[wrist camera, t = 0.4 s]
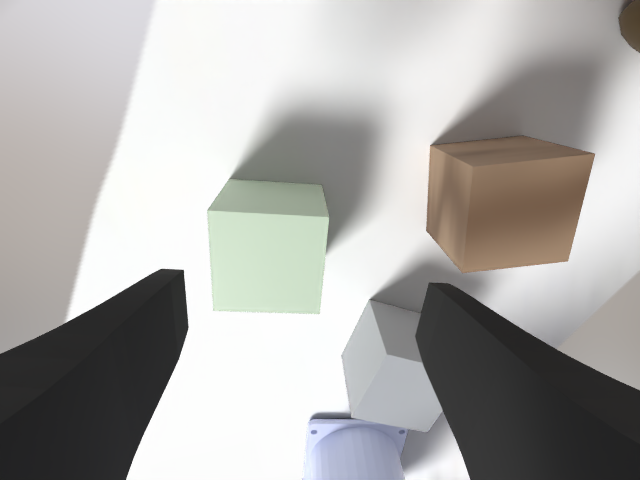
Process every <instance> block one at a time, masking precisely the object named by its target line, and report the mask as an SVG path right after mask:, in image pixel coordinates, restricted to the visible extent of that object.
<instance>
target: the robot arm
mask: <svg viewBox="0 0 640 480" xmlns="http://www.w3.org/2000/svg"><path fill="white" fill-rule="evenodd" d="M187 331H188V317H187V305H186V293H185V281H184V270H174V269H160V270H158V271H156V272H154V273H152V274H151V275H149V276H147V277H145V278H144V279H142V280H140V281H139V282H137V283H135V284H134V285H132V286H130V287H129V288H127V289H125V290H124V291H122V292H120V293H119V294H117V295H115V296H113V297H112V298H110V299H108V300H107V301H105V302H103V303H102V304H100V305H98V306H96V307H94V308H93V309H91V310H89V311H87V312H85V313H83V314H81V315H80V316H78V317H76V318H74V319H72V320H70V321H68V322H67V323H65V324H63V325H61V326H59V327H57V328H56V329H53V330H51V331H49V332H47V333H45V334H43V335H41V336H39V337H37V338H35V339H33V340H30V341H28V342H26V343H24V344H22V345H19V346H17V347H15V348H13V349H10V350H8V351H6V352H4V353H1V354H0V480H126V478H127V475H128V472H129V469H130V466H131V464H132V461H133V458H134V456H135V453H136V451H137V448H138V446H139V444H140V441H141V439H142V437H143V435H144V432H145V430H146V428H147V426H148V424H149V422H150V420H151V418H152V415H153V413H154V411H155V409H156V407H157V405H158V403H159V401H160V398H161V396H162V394H163V392H164V390H165V388H166V386H167V384H168V381H169V379H170V377H171V375H172V373H173V371H174V369H175V366H176V364H177V362H178V360H179V357H180V354H181V351H182V348H183V344H184V341H185V338H186V335H187ZM415 338H416V342H417V346H418V349H419V353H420V356H421V360H422V363H423V366H424V369H425V371H426V373H427V376H428V378H429V380H430V383H431V385H432V387H433V389H434V392H435V394H436V396H437V398H438V401H439V403H440V405H441V407H442V410H443V412H444V414H445V416H446V419H447V421H448V423H449V425H450V428H451V430H452V432H453V434H454V436H455V439H456V441H457V444H458V446H459V449H460V451H461V454H462V456H463V459H464V462H465V465H466V468H467V471H468V474H469V477H470V480H640V390H637V389H635V388H633V387H631V386H629V385H626V384H624V383H622V382H620V381H617V380H615V379H613V378H611V377H609V376H607V375H605V374H603V373H601V372H599V371H596V370H595V369H593V368H591V367H589V366H587V365H585V364H583V363H581V362H579V361H577V360H575V359H573V358H571V357H569V356H567V355H566V354H563V353H562V352H560V351H558V350H557V349H555V348H553V347H551V346H550V345H548V344H546V343H544V342H543V341H541V340H539V339H538V338H536V337H534V336H532V335H531V334H529V333H527V332H526V331H524V330H523V329H521V328H519V327H518V326H516V325H514V324H513V323H511V322H510V321H508V320H507V319H505V318H503V317H502V316H500V315H499V314H497V313H496V312H494V311H493V310H491V309H490V308H488V307H487V306H485V305H483V304H482V303H480V302H479V301H477V300H476V299H474V298H473V297H471V296H470V295H468V294H466V293H465V292H463V291H461V290H460V289H458V288H456V287H455V286H453V285H451V284H448V283H429V285H428V289H427V293H426V297H425V300H424V304H423V308H422V312H421V315H420V319H419V323H418V327H417V331H416V334H415ZM407 433H408V429H406V428H401V427H396V426H391V425H386V424H380V423H375V422H370V421H365V420H360V419H313V420H310V421H309V422H308V428H307V438H306V448H305V458H304V468H303V478H302V480H405V477H404V473H403V469H402V466H401V462H400V457H401V454H402V450H403V447H404V443H405V440H406V436H407Z"/></svg>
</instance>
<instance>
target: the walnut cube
mask: <svg viewBox="0 0 640 480" xmlns="http://www.w3.org/2000/svg"><path fill="white" fill-rule="evenodd" d="M594 157H595V154H594V153H590V152H586V151H582V150H578V149H574V148H570V147H566V146H562V145H558V144H554V143H550V142H546V141H542V140H538V139H534V138H530V137H526V136H514V137H504V138H495V139H486V140H476V141H467V142H457V143H448V144H438V145H430V161H429V183H428V205H427V227H426V231H427V232H428V233H429V234H430V236H431V237H432V238H433V239H434V240H435V241H436V243H437V244H438V245H439V246H440V247H441V249H442V250H443V251H444V252H445V253H446V254H447V256H448V257H449V258H450V259H451V260H452V261H453V263H454V264H455V265H456V266H457V267H458V269H459V270H460V271H461V272H462V273H468V272H477V271H486V270H495V269H504V268H512V267H521V266H530V265H539V264H548V263H557V262H566V261H568V259H569V255H570V251H571V247H572V243H573V239H574V235H575V232H576V228H577V224H578V220H579V216H580V212H581V208H582V204H583V200H584V196H585V192H586V188H587V184H588V180H589V176H590V172H591V168H592V164H593V160H594Z"/></svg>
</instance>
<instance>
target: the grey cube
mask: <svg viewBox="0 0 640 480" xmlns="http://www.w3.org/2000/svg"><path fill="white" fill-rule="evenodd" d="M420 315H421V313H417V312H414V311H410V310H406V309H403V308H399V307H395V306H392V305H388V304H384V303H381V302H377V301H373V300H370V299H369V301H368V303H367V305H366V307H365V309H364V311H363V313H362V315H361V317H360V319H359V321H358V323H357V325H356V327H355V329H354V331H353V333H352V335H351V337H350V339H349V341H348V343H347V345H346V347H345V349H344V351H343V353H342V355H341V356H342V362H343V368H344V375H345V381H346V387H347V394H348V400H349V407H350V413H351V418H355V419H360V420H365V421H370V422H375V423H380V424H386V425H391V426H396V427H401V428H406V429H411V430H416V431H421V432H426V433H428V431H429V430H430V428H431V427H432V426H433V424H434V423H435V421H436V420H437V419H438V417H439V416H440V414H441V413H442V411H443V410H442V407H441V405H440V403H439V401H438V398H437V396H436V394H435V392H434V389H433V387H432V385H431V383H430V380H429V378H428V376H427V373H426V371H425V369H424V366H423V363H422V360H421V356H420V353H419V349H418V346H417V342H416V338H415V334H416V331H417V327H418V323H419V319H420Z"/></svg>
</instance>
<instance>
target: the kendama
mask: <svg viewBox="0 0 640 480" xmlns="http://www.w3.org/2000/svg"><path fill="white" fill-rule="evenodd" d="M618 19H619V24H620V30H621V35H622V36H623V38H624V39H625V40H626V41H627V43H628V44H629V45H630V46H631V47H632V48H633V49H635V50H636V51H638V52H639V53H640V0H634V1H632V2H631V3H630V4H629V5H628V6H627V7H626V8H625V9H624V11H623V12H622V13H621V14H620V16H619V18H618Z"/></svg>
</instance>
